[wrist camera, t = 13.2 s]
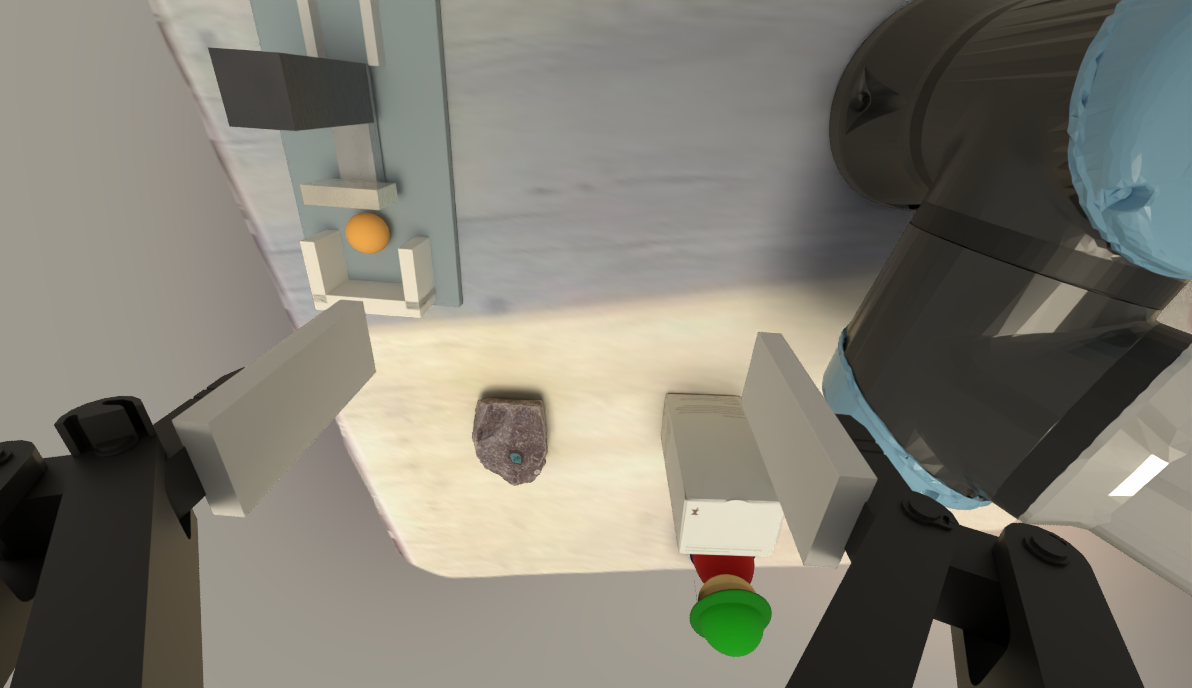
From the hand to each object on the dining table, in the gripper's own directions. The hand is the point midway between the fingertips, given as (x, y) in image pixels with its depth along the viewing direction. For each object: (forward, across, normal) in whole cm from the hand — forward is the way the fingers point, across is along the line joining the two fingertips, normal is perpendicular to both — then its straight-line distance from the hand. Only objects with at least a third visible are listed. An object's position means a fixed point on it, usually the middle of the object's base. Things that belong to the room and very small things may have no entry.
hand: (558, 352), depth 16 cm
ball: (+26, -20, -4) cm, 33 cm away
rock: (+29, -8, -26) cm, 40 cm away
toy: (+29, +17, -40) cm, 52 cm away
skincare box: (+29, +13, -23) cm, 39 cm away
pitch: (+29, -20, +6) cm, 35 cm away
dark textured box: (+27, -20, +4) cm, 34 cm away
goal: (+28, -20, -8) cm, 35 cm away
